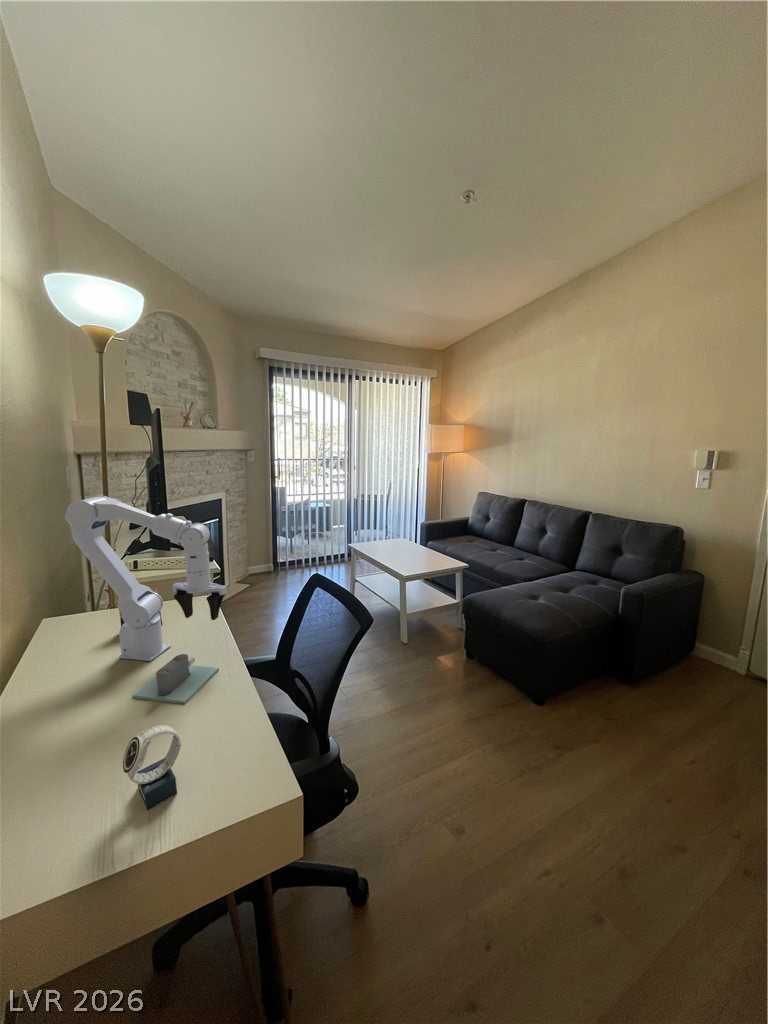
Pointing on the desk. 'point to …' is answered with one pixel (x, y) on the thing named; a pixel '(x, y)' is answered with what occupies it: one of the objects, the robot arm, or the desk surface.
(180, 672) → the plug
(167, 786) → the watch
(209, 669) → the mat
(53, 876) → the desk surface
